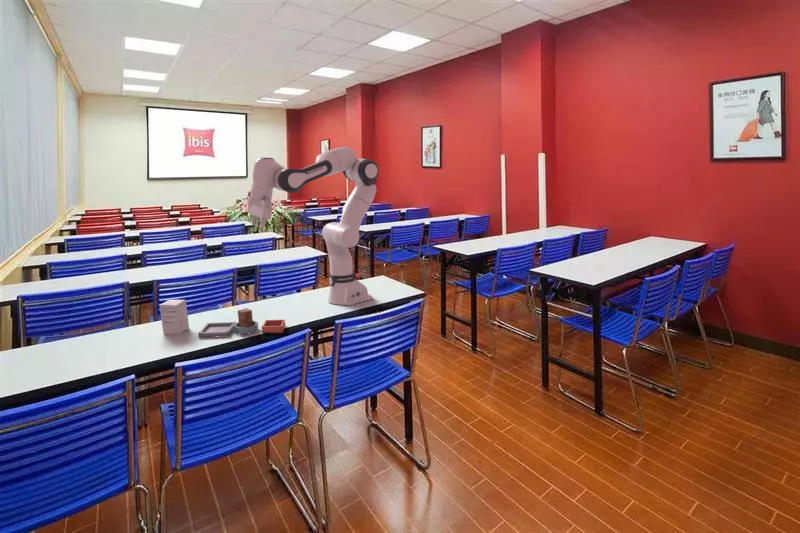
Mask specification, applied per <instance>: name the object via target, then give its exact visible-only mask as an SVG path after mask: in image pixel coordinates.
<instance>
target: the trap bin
mask: <svg viewBox="0 0 800 533" xmlns="http://www.w3.org/2000/svg"><path fill="white" fill-rule="evenodd" d="M284 327H286V319H265V320H264V322H263V324H262V326H261V332H262V333H269V334H282V333H284V330H285V328H284ZM262 333H261V334H262Z"/></svg>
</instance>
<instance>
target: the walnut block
mask: <svg viewBox="0 0 800 533" xmlns="http://www.w3.org/2000/svg"><path fill="white" fill-rule="evenodd" d="M237 317H238V318H237V320H238V322H239V327H250V326H253V321H254V320H253V311H252V309H250V308H248V307H246V308H242V309H238V310H237Z"/></svg>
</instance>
